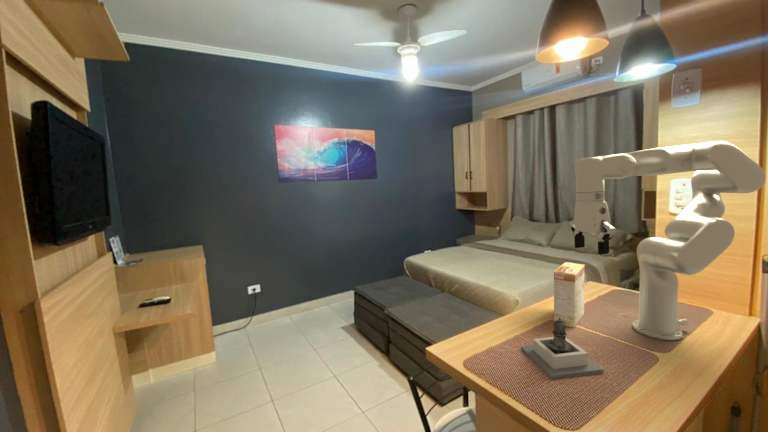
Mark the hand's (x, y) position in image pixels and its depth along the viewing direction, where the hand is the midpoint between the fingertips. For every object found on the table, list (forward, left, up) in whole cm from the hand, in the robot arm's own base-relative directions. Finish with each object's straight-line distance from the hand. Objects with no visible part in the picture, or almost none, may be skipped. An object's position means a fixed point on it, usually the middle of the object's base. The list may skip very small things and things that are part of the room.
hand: (591, 250), depth 99 cm
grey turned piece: (+18, +10, -28) cm, 35 cm away
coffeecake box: (-3, -14, -29) cm, 33 cm away
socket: (+18, +10, -29) cm, 36 cm away
